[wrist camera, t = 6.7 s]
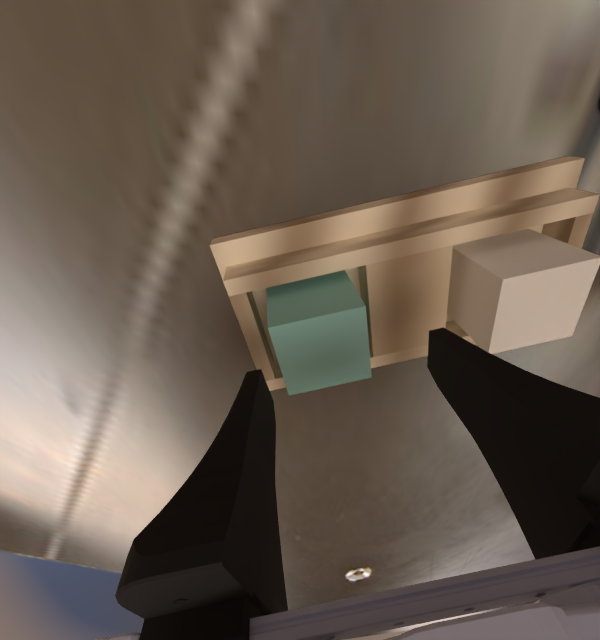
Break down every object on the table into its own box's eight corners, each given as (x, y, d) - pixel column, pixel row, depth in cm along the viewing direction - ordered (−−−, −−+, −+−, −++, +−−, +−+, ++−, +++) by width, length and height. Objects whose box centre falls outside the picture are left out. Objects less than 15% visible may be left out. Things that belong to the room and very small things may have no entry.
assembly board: (567, 156, 18) (620, 161, 15) (524, 318, 25) (556, 342, 22) (212, 238, 18) (204, 257, 16) (263, 377, 25) (263, 407, 22)
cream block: (527, 228, 19) (602, 256, 15) (512, 295, 22) (571, 336, 18) (450, 246, 19) (503, 279, 15) (444, 311, 22) (488, 354, 18)
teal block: (342, 266, 19) (365, 305, 15) (350, 329, 22) (371, 377, 18) (266, 284, 19) (267, 328, 15) (283, 344, 22) (288, 395, 18)
